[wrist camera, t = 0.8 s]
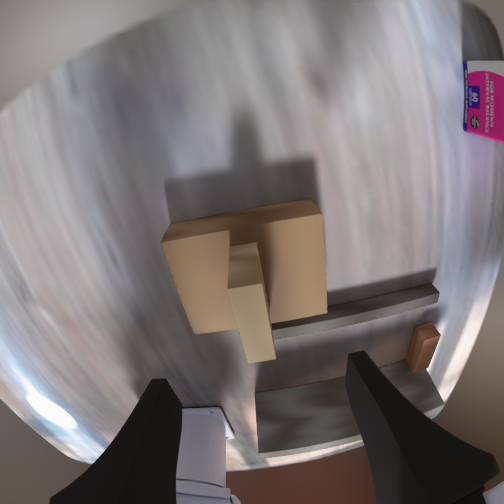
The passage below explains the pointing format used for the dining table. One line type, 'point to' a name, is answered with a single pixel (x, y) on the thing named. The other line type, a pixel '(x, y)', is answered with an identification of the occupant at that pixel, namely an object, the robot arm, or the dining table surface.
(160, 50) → the dining table surface
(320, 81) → the dining table surface
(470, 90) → the supplement box
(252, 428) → the dining table surface
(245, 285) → the tan box with handle
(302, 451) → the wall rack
